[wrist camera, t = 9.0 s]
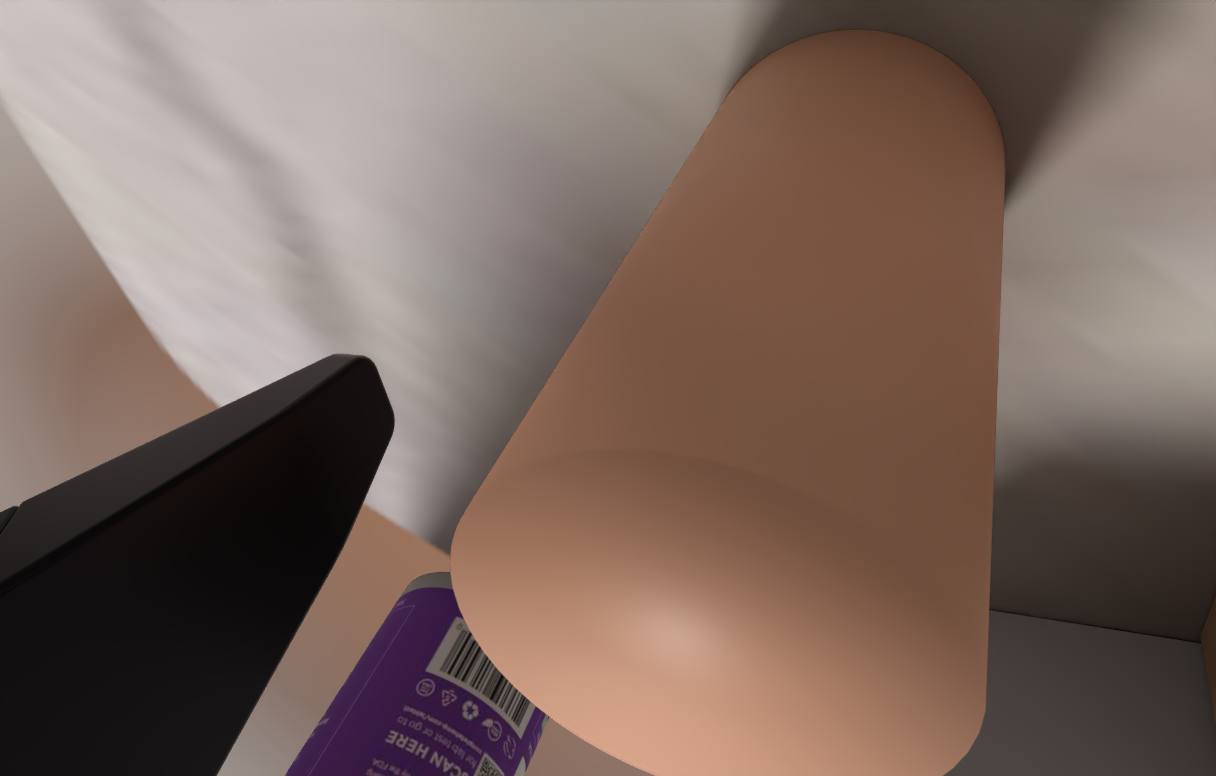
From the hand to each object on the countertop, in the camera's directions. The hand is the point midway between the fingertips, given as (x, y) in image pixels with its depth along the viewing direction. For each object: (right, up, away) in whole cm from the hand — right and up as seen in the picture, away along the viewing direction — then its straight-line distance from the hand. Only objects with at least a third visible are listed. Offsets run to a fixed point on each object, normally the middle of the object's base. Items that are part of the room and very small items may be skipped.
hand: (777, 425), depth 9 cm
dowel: (+2, +3, +4) cm, 5 cm away
